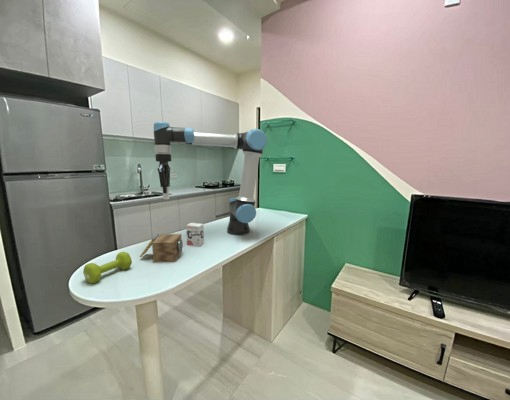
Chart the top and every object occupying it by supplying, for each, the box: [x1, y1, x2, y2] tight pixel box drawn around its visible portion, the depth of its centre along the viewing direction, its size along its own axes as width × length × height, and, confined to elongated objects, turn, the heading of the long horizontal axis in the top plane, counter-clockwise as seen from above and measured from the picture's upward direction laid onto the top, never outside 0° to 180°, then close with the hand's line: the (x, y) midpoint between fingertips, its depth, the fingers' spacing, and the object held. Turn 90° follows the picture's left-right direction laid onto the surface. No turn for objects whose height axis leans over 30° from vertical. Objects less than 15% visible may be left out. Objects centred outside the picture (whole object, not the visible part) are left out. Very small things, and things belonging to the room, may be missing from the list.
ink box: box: [185, 222, 205, 247], centre depth 125 cm, size 8×5×12 cm, turn 73°
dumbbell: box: [82, 251, 133, 284], centre depth 91 cm, size 16×8×7 cm, turn 151°
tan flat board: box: [139, 233, 160, 258], centre depth 108 cm, size 11×7×1 cm
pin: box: [177, 239, 183, 252], centre depth 108 cm, size 12×6×6 cm, turn 94°
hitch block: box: [151, 233, 183, 263], centre depth 108 cm, size 10×12×10 cm
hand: (166, 199), depth 118 cm, fingers closed
